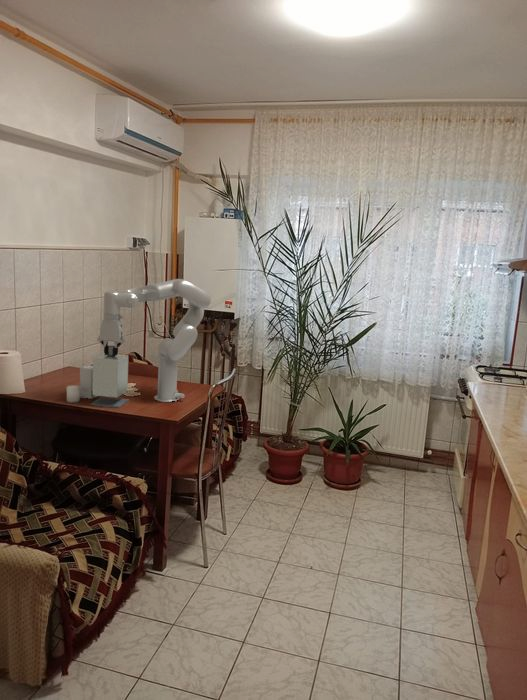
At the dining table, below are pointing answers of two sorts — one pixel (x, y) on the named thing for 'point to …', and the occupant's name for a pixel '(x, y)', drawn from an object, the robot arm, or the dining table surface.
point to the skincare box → (86, 382)
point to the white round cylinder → (73, 393)
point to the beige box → (110, 374)
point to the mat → (109, 402)
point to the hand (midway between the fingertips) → (110, 354)
